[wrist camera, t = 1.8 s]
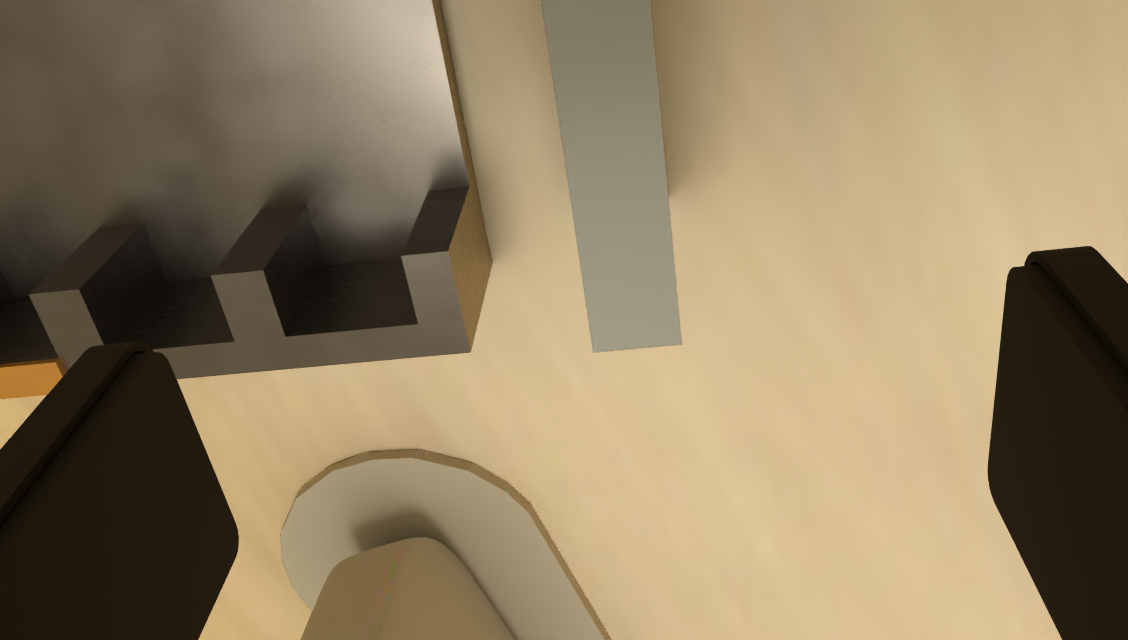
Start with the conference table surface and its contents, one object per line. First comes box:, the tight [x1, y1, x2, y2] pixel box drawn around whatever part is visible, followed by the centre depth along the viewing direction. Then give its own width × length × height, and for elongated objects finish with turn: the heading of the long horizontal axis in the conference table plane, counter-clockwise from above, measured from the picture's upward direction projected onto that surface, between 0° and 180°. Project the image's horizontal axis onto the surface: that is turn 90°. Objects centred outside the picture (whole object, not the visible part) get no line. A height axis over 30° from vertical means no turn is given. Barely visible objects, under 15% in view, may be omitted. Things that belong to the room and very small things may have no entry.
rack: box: [0, 0, 492, 399], centre depth 25 cm, size 16×14×5 cm
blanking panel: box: [541, 0, 682, 353], centre depth 23 cm, size 2×11×8 cm, turn 8°
